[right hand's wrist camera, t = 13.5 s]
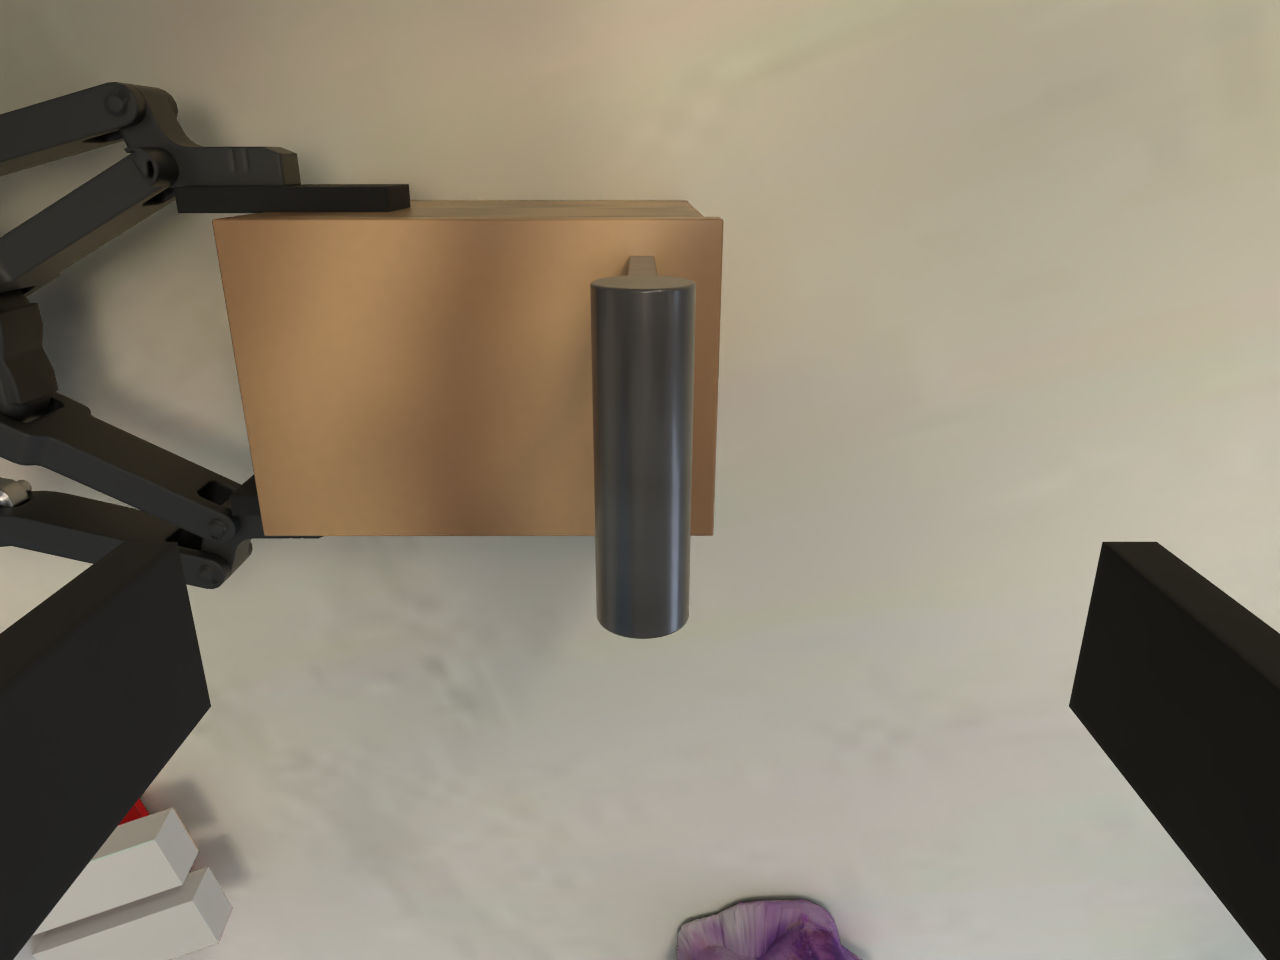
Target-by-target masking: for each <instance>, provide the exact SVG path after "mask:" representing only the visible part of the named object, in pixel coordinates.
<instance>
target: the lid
mask: <svg viewBox="0 0 1280 960" xmlns="http://www.w3.org/2000/svg"><path fill="white" fill-rule="evenodd" d="M212 223H213V229H214V235H215V241H216V247H217V253H218V259H219V265H220V271H221V277H222V283H223V289H224V295H225V301H226V307H227V313H228V319H229V325H230V331H231V337H232V343H233V349H234V355H235V361H236V367H237V373H238V379H239V385H240V391H241V398H242V404H243V410H244V416H245V422H246V428H247V434H248V440H249V446H250V452H251V458H252V464H253V470H254V476H255V482H256V488H257V494H258V500H259V506H260V512H261V518H262V524H263V530H264V535H265V536H595V552H596V602H597V619H598V621H599V623H600V624H601V625H602V626H603V627H604V628H605V629H606V630H608V631H610V632H612V633H614V634H617V635H620V636H624V637H629V638H638V639H648V638H657V637H662V636H666V635H669V634H672V633H674V632H676V631H678V630H679V629H681V628H682V627H683V626H684V625H685V623H686V622H687V620H688V617H689V577H690V536H712V535H713V528H714V497H715V465H716V434H717V403H718V372H719V341H720V309H721V278H722V247H723V220H722V219H721V218H720V217H227V218H220V219H214V220H212Z"/></svg>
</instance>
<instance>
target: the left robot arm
mask: <svg viewBox="0 0 1280 960" xmlns="http://www.w3.org/2000/svg"><path fill="white" fill-rule="evenodd" d="M177 114H178V109H177V105H176V102H175V101H174V99H173V97H172V96H171V95H170V94H169V93H168V92H166V91H165V90H162V89H159V88H154V87H147V86H140V85H132V84H125V83H118V82H110V83H105V84H102V85H98V86H95V87H92V88H88V89H85V90H82V91H78V92H75V93H72V94H68V95H65V96H62V97H58V98H55V99H51V100H48V101H45V102H41V103H38V104H35V105H31V106H28V107H25V108H21V109H18V110H15V111H11V112H8V113H5V114H1V115H0V176H3V175H6V174H10V173H13V172H16V171H20V170H23V169H27V168H30V167H34V166H37V165H40V164H44V163H47V162H51V161H54V160H58V159H61V158H64V157H68V156H71V155H75V154H78V153H82V152H85V151H88V150H92V149H95V148H99V147H102V146H106V145H109V144H112V143H116V142H119V141H123V140H124V141H125V143H126V144H127V146H128V148H126V149H124V150H125V151H126V153H131V154H130V155H128V156H127V157H125V158H124V159H122V160H121V161H119V162H117V163H116V164H114V165H113V166H111V167H110V168H108V169H107V170H105V171H103V172H102V173H100V174H99V175H97V176H96V177H94V178H93V179H91V180H89V181H88V182H86V183H85V184H83V185H82V186H80V187H79V188H77V189H75V190H74V191H72V192H71V193H69V194H68V195H66V196H65V197H63V198H61V199H60V200H58V201H57V202H55V203H54V204H52V205H51V206H49V207H47V208H46V209H44V210H43V211H41V212H40V213H38V214H37V215H35V216H33V217H32V218H30V219H29V220H27V221H26V222H24V223H23V224H21V225H19V226H18V227H16V228H15V229H13V230H12V231H10V232H8V233H7V234H5V235H4V236H2V237H1V238H0V457H2V458H4V459H7V460H9V461H11V462H14V463H17V464H20V465H38V466H43V467H45V468H48V469H50V470H52V471H54V472H57V473H59V474H61V475H63V476H66V477H68V478H70V479H72V480H75V481H77V482H79V483H81V484H84V485H86V486H88V487H90V488H92V489H95V490H97V491H99V492H101V493H104V494H106V495H108V496H110V497H113V498H115V499H117V500H119V501H122V502H124V503H126V504H128V505H131V506H133V507H135V508H137V509H140V510H137V509H133V508H128V507H124V506H119V505H115V504H111V503H106V502H102V501H97V500H93V499H88V498H84V497H80V496H75V495H71V494H66V493H60V492H52V491H32V488H31V485H30V484H29V483H28V482H27V481H25V480H19V481H14V480H12V479H5V478H1V477H0V547H4V546H15V547H19V548H24V549H28V550H33V551H37V552H42V553H47V554H51V555H56V556H60V557H65V558H69V559H74V560H78V561H83V562H88V563H92V564H94V563H96V562H97V561H98V560H100V559H101V558H102V557H104V556H105V555H107V554H108V553H109V552H111V551H112V550H113V549H115V548H116V547H117V546H119V545H120V544H121V543H123V542H178V547H179V552H180V557H181V562H182V567H183V572H184V577H185V582H186V584H188V585H192V586H197V587H201V588H206V589H214V588H217V587H219V586H220V585H221V584H222V583H223V582H224V581H225V580H227V579H228V577H229V576H230V575H231V574H232V573H233V572H234V571H235V570H236V569H237V568H238V567H239V566H240V565H241V564H242V563H243V562H244V561H245V560H246V559H247V558H248V557H249V556H250V555H251V552H252V543H251V542H250V540H251V539H252V538H320V537H323V536H265V535H264V530H263V524H262V518H261V512H260V506H259V500H258V494H257V488H256V482H255V476H254V475H253V476H252V477H251V478H249V479H248V480H247V481H246V482H245V483H243V484H242V485H240V484H238V483H236V482H234V481H232V480H230V479H227V478H225V477H223V476H221V475H219V474H217V473H214V472H212V471H210V470H208V469H206V468H203V467H201V466H199V465H197V464H195V463H193V462H190V461H188V460H186V459H184V458H182V457H180V456H177V455H175V454H173V453H171V452H169V451H167V450H164V449H162V448H160V447H158V446H156V445H153V444H151V443H149V442H147V441H145V440H143V439H140V438H138V437H136V436H134V435H132V434H130V433H127V432H125V431H123V430H121V429H119V428H116V427H114V426H112V425H110V424H108V423H106V422H103V421H101V420H99V419H97V418H95V417H93V416H92V415H91V412H90V409H89V408H88V407H86V406H85V405H83V404H81V403H78V402H76V401H74V400H72V399H70V398H68V397H65V396H63V395H61V394H59V393H57V392H55V391H58V386H57V382H56V378H55V374H54V369H53V367H52V366H51V364H50V362H49V360H48V358H47V356H46V354H45V352H44V350H43V347H42V337H43V324H42V320H41V316H40V311H39V307H38V303H29V301H28V300H27V298H26V296H28V295H29V294H31V293H33V292H34V291H36V290H37V289H39V288H41V287H42V286H44V285H45V284H47V283H49V282H50V281H52V280H53V279H55V278H56V277H58V276H59V272H60V271H62V270H63V269H65V268H67V267H68V266H70V265H71V264H73V263H75V262H76V261H78V260H79V259H81V258H83V257H84V256H86V255H87V254H89V253H91V252H92V251H94V250H95V249H97V248H99V247H100V246H102V245H103V244H105V243H107V242H108V241H110V240H111V239H113V238H115V237H116V236H118V235H119V234H121V233H123V232H124V231H126V230H127V229H129V228H131V227H132V226H134V225H135V224H137V223H139V222H140V221H142V220H143V219H145V218H147V217H148V216H150V215H151V214H153V213H155V212H156V211H158V210H159V209H161V208H163V207H164V206H166V205H167V204H169V203H171V202H172V201H174V200H175V199H176V203H177V208H178V213H262V212H391V211H396V210H400V209H405V208H409V207H411V205H410V194H409V184H302V185H301V182H300V174H299V167H298V159H297V154H296V153H293V152H291V151H288V150H286V149H283V148H281V147H202V146H200V145H197V144H195V143H194V142H192V141H191V140H190V139H189V138H188V137H187V136H186V135H185V133H184V132H183V130H182V128H181V126H180V124H179V122H178V120H177Z"/></svg>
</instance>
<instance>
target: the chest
mask: <svg viewBox="0 0 1280 960" xmlns="http://www.w3.org/2000/svg"><path fill="white" fill-rule="evenodd" d="M410 205H411V207H409V208H405V209H400V210H396V211H391V212H262V213H255V214H249V215H242V216H235V217H703V216H702V215H701V214H700V213H699V212H698V211H697V210H696V209H695V208H694V207H693V206H692V205H691V204H689V203H688V201H686V200H594V201H410Z"/></svg>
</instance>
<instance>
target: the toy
mask: <svg viewBox="0 0 1280 960" xmlns="http://www.w3.org/2000/svg"><path fill="white" fill-rule="evenodd" d="M198 852H199V850H198V848H197V847H196V845H195V843H194V842H193V840H192V838H191V837H190V835H189V833H188V832H187V830H186V828H185V827H184V825H183V823H182V822H181V820H180V818H179V817H178V815H177V813H176V812H175V810H174V808H173V807H172V808H169V809H166V810H163V811H160V812H157V813H154V814H151V815H150V814H149V813H148V811H147V810H146V808H145V807H144V805H143V803H142V802H141V800H140V799H138V800H137V802H136V803H135V804H134V806H133V807H132V808H131V809H130V811H129V812H128V813H127V815H126V816H125V817H124V818H123V820H122V821H121V822H120V824H119V825H118V826H117V827H116V829H115V830H114V831H113V833H112V834H111V835H110V836H109V838H108V839H107V840H106V842H105V843H104V844H103V845H102V847H101V848H100V849H99V850H98V852H97V853H96V854H95V856H94V857H93V858H92V859H91V861H90V862H89V863H88V865H87V866H86V867H85V868H84V870H83V871H82V872H81V874H80V875H79V876H78V877H77V879H76V880H75V881H74V883H73V884H72V885H71V886H70V888H69V889H68V890H67V892H66V893H65V894H64V895H63V897H62V898H61V899H60V901H59V902H58V903H57V904H56V906H55V907H54V908H53V909H52V911H51V912H50V913H49V915H48V916H47V917H46V918H45V920H44V921H43V922H42V924H41V925H40V926H39V927H38V929H37V930H36V931H35V933H34V934H33V935H32V936H31V938H30V939H29V940H28V942H27V943H26V944H25V945H24V947H23V948H22V949H21V951H20V952H19V953H18V954H17V956H16V957H15V958H14V959H13V960H171V959H174V958H177V957H180V956H183V955H186V954H189V953H192V952H194V951H197V950H200V949H203V948H206V947H209V946H212V945H215V944H218V943H219V941H220V939H221V936H222V934H223V931H224V929H225V926H226V924H227V921H228V919H229V916H230V914H231V911H232V909H233V907H232V905H231V903H230V902H229V900H228V898H227V897H226V895H225V893H224V892H223V890H222V888H221V887H220V885H219V883H218V882H217V880H216V878H215V877H214V875H213V873H212V872H211V870H210V868H209V867H205V868H202V869H199V870H196V871H193V872H190V873H189V871H190V869H191V867H192V864H193V862H194V860H195V858H196V856H197V854H198Z"/></svg>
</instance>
